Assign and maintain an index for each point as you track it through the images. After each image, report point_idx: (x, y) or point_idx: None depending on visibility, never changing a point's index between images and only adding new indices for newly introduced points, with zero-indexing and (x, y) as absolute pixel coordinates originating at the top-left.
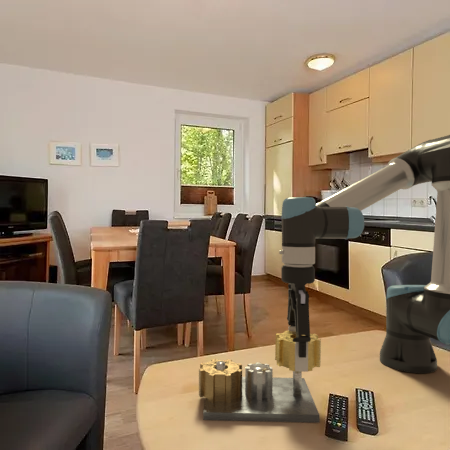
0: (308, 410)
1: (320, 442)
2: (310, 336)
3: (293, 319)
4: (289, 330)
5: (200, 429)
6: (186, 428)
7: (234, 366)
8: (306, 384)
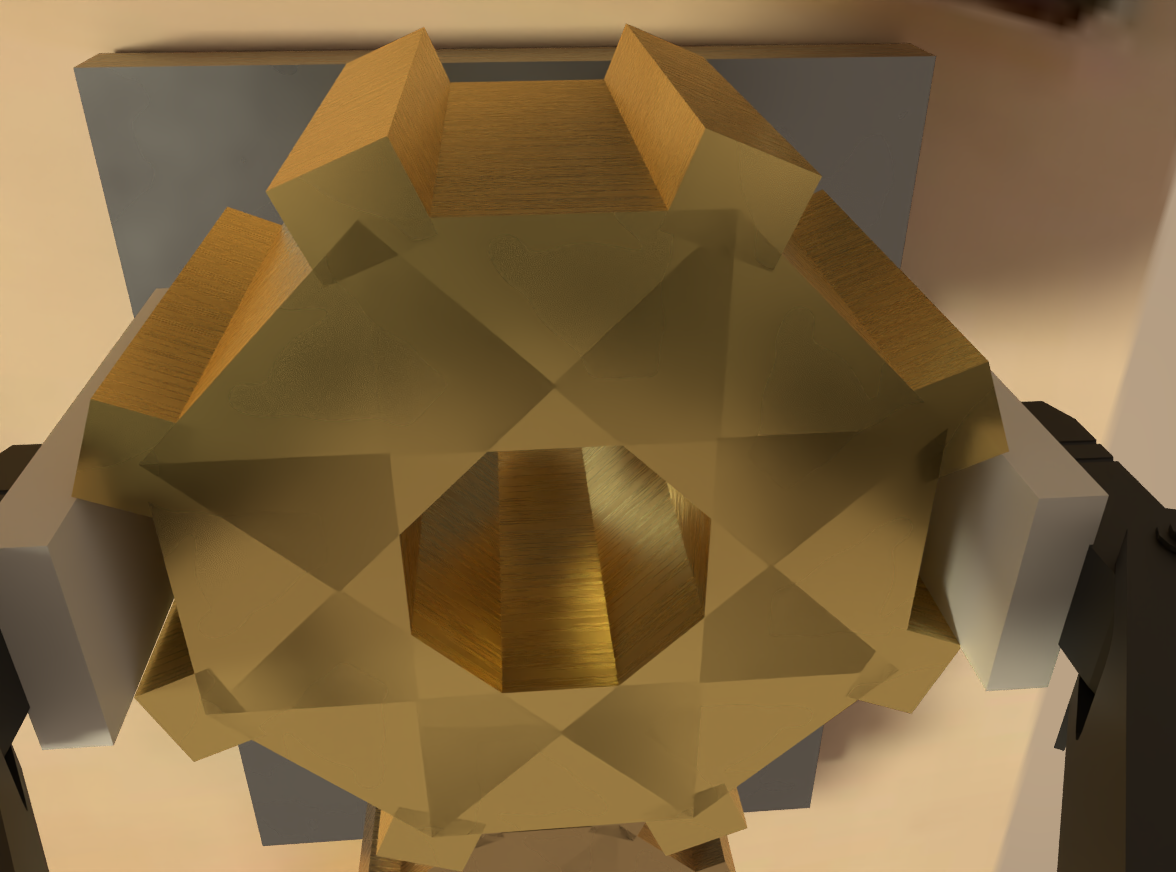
0: (848, 148)
1: (1159, 91)
2: (523, 338)
3: (26, 824)
4: (129, 680)
5: (881, 763)
6: (864, 818)
7: (531, 858)
8: (262, 69)
